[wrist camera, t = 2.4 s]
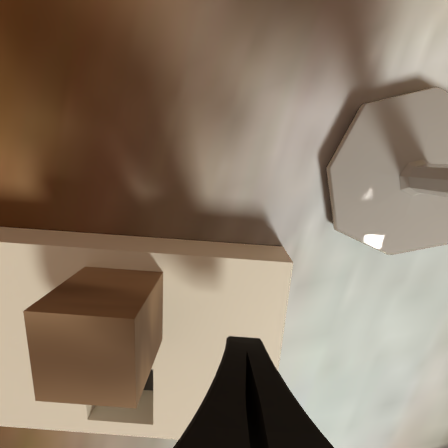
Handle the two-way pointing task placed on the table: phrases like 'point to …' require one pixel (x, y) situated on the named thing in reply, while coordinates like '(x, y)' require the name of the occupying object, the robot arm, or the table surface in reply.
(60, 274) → the beige flat block
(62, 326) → the block
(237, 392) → the robot arm
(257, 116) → the table surface
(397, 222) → the wineglass
